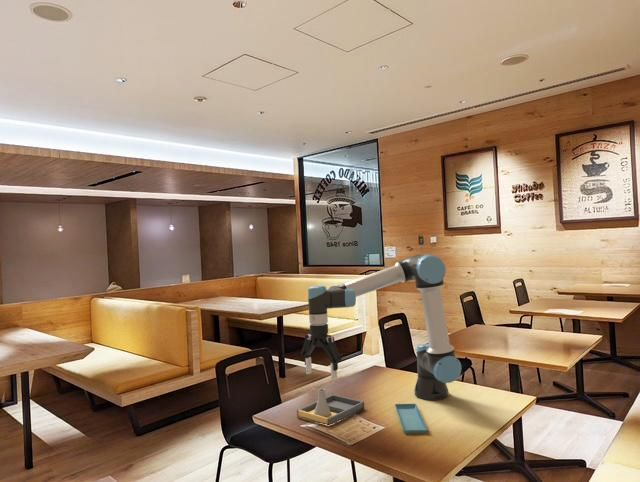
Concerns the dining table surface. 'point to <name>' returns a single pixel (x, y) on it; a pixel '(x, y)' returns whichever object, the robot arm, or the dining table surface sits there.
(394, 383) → the dining table surface
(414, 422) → the shallow long dish
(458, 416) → the dining table surface
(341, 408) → the caddy
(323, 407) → the flask
